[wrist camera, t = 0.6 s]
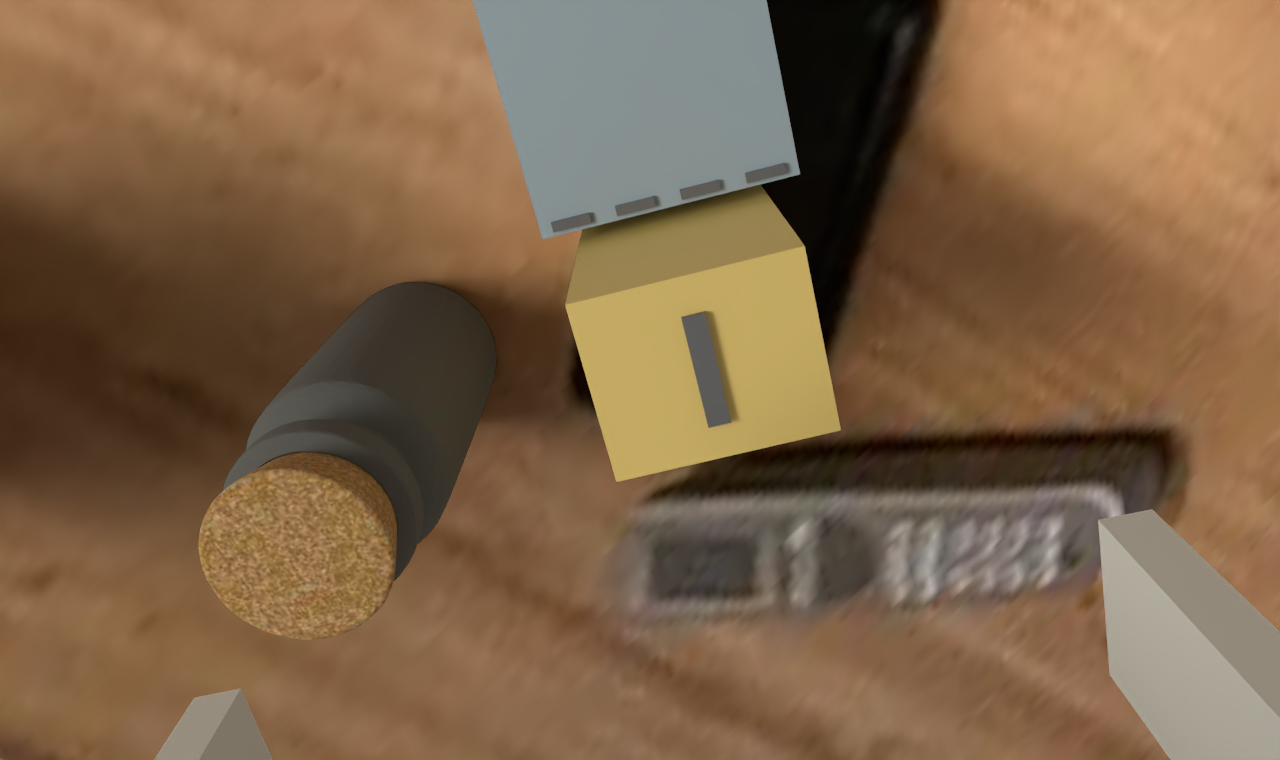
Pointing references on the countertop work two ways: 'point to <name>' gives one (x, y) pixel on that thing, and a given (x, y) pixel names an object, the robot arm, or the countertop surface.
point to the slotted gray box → (637, 103)
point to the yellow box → (699, 333)
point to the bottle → (350, 465)
